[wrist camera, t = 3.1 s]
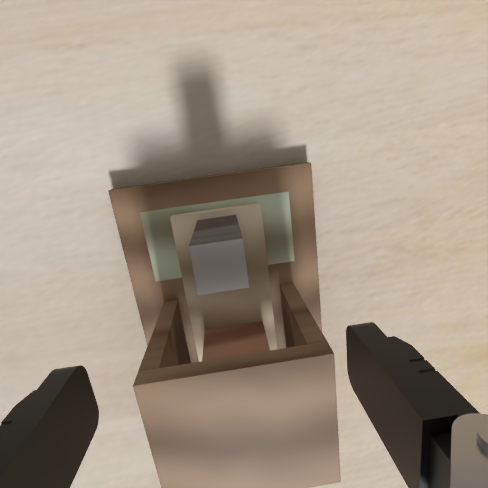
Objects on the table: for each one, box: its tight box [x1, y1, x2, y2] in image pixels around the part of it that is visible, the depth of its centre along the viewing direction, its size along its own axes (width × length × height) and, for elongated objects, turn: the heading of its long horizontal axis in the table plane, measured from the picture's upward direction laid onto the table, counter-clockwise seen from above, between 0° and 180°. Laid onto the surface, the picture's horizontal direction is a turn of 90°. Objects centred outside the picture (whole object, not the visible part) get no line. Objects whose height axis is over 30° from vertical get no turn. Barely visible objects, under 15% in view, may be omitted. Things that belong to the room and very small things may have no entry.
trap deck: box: [109, 162, 341, 488], centre depth 24 cm, size 30×16×11 cm, turn 7°
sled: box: [170, 203, 277, 362], centre depth 24 cm, size 21×7×8 cm, turn 7°
